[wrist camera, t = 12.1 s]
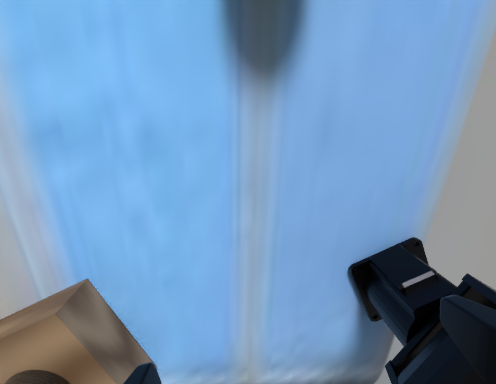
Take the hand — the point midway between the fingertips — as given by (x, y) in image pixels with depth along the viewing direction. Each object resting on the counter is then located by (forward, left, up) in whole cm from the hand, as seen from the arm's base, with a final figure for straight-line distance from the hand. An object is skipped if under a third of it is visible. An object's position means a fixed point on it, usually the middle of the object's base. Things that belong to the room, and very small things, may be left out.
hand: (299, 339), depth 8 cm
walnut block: (-5, +21, -13) cm, 25 cm away
